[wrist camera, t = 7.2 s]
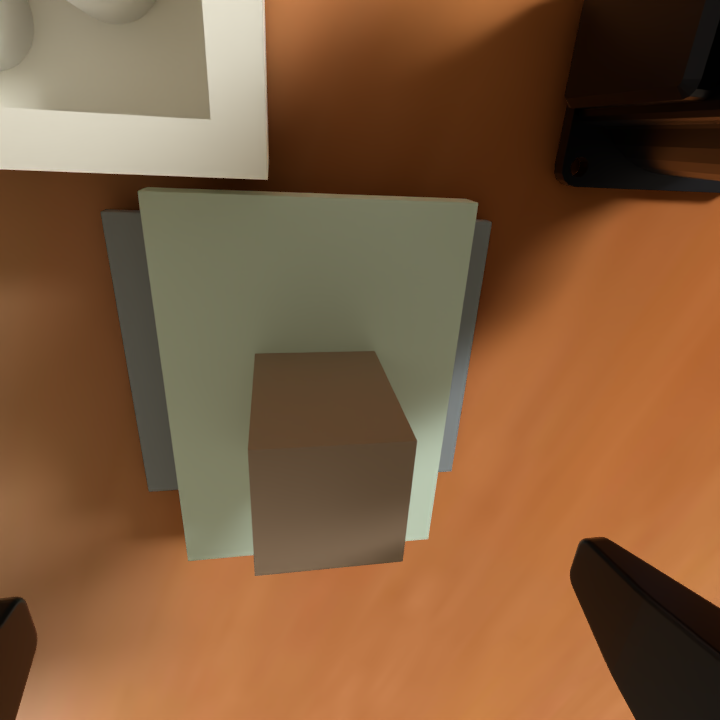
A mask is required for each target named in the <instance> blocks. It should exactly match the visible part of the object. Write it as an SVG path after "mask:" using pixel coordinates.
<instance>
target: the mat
mask: <svg viewBox="0 0 720 720" xmlns="http://www.w3.org/2000/svg"><path fill="white" fill-rule="evenodd" d="M101 218H102V223H103V229H104V235H105V241H106V247H107V252H108V258H109V264H110V270H111V276H112V281H113V287H114V293H115V299H116V305H117V310H118V316H119V322H120V328H121V334H122V339H123V345H124V351H125V357H126V363H127V368H128V374H129V380H130V386H131V392H132V397H133V403H134V409H135V415H136V421H137V426H138V432H139V438H140V444H141V450H142V455H143V461H144V467H145V473H146V479H147V484H148V490H149V492H151V491H166V490H178V483H177V475H176V468H175V461H174V453H173V446H172V439H171V432H170V424H169V417H168V410H167V403H166V395H165V388H164V381H163V373H162V366H161V359H160V352H159V344H158V337H157V330H156V322H155V315H154V308H153V301H152V293H151V286H150V279H149V272H148V264H147V257H146V250H145V242H144V235H143V228H142V221H141V213H140V210H113V209H105V210H103V211H101ZM491 225H492V222H491V221H488V220H478V219H476V222H475V229H474V236H473V242H472V249H471V256H470V262H469V269H468V276H467V282H466V289H465V296H464V302H463V309H462V316H461V322H460V329H459V336H458V342H457V349H456V356H455V362H454V369H453V376H452V382H451V389H450V396H449V402H448V409H447V416H446V422H445V429H444V436H443V442H442V449H441V456H440V462H439V469H438V472H446V471H452V464H453V458H454V452H455V446H456V440H457V434H458V428H459V421H460V415H461V409H462V403H463V397H464V391H465V385H466V379H467V372H468V366H469V360H470V354H471V348H472V342H473V336H474V330H475V323H476V317H477V311H478V305H479V299H480V293H481V287H482V281H483V274H484V268H485V262H486V256H487V250H488V244H489V238H490V232H491Z"/></svg>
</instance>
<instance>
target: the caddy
mask: <svg viewBox="0 0 720 720" xmlns="http://www.w3.org/2000/svg"><path fill="white" fill-rule="evenodd" d="M0 169H6V170H31V171H57V172H82V173H107V174H133V175H158V176H184V177H209V178H234V179H260V180H268V169H269V144H268V107H267V71H266V35H265V0H0Z"/></svg>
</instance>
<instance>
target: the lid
mask: <svg viewBox="0 0 720 720" xmlns="http://www.w3.org/2000/svg"><path fill="white" fill-rule="evenodd" d="M137 192H138V199H139V206H140V213H141V221H142V228H143V235H144V242H145V250H146V257H147V264H148V272H149V279H150V286H151V293H152V301H153V308H154V315H155V322H156V330H157V337H158V344H159V352H160V359H161V366H162V373H163V381H164V388H165V395H166V403H167V410H168V417H169V424H170V432H171V439H172V446H173V453H174V461H175V468H176V475H177V483H178V490H179V497H180V504H181V512H182V519H183V526H184V534H185V541H186V548H187V555H188V561H194V560H205V559H215V558H226V557H237V556H248V555H254V568H255V576H259V575H270V574H280V573H290V572H300V571H310V570H320V569H330V568H340V567H350V566H360V565H370V564H380V563H391V562H401V561H403V554H404V545H405V541H412V540H423V539H428V536H429V529H430V522H431V516H432V509H433V502H434V496H435V489H436V482H437V476H438V469H439V462H440V456H441V449H442V442H443V436H444V429H445V422H446V416H447V409H448V402H449V396H450V389H451V382H452V376H453V369H454V362H455V356H456V349H457V342H458V336H459V329H460V322H461V316H462V309H463V302H464V296H465V289H466V282H467V276H468V269H469V262H470V256H471V249H472V242H473V236H474V229H475V222H476V216H477V209H478V203H477V202H474V201H471V200H468V199H461V198H434V197H406V196H379V195H351V194H324V193H296V192H269V191H241V190H213V189H186V188H158V187H146V188H143V189H141V190H139V191H137Z"/></svg>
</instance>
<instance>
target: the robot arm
mask: <svg viewBox="0 0 720 720" xmlns="http://www.w3.org/2000/svg"><path fill="white" fill-rule="evenodd" d="M565 99H566V102H567V108H566V113H565V118H564V123H563V128H562V132H561V137H560V142H559V147H558V152H557V157H556V161H555V170H554V173H555V176H556V179H557V180H558V181H559V182H560V183H561V184H564V185H568V186H574V187H594V188H618V189H642V190H666V191H690V192H715V193H720V0H584V3H583V8H582V13H581V18H580V23H579V27H578V32H577V37H576V42H575V47H574V52H573V57H572V62H571V67H570V72H569V77H568V82H567V86H566V91H565ZM576 158H578V160H579V161H580V167H579V169H578V171H577V172H576V173H575V174H574V175H572V173H571V165H572V163H573V161H574V160H575V159H576ZM570 580H571V584H572V586H573V589H574V591H575V593H576V596H577V598H578V600H579V603H580V605H581V607H582V609H583V612H584V614H585V616H586V619H587V621H588V623H589V625H590V628H591V630H592V632H593V635H594V637H595V639H596V641H597V644H598V646H599V648H600V651H601V653H602V655H603V657H604V660H605V662H606V664H607V666H608V668H609V670H610V672H611V675H612V676H613V678H614V680H615V682H616V684H617V686H618V688H619V690H620V692H621V694H622V695H623V697H624V699H625V701H626V703H627V705H628V706H629V708H630V710H631V712H632V714H633V716H634V718H635V719H636V720H720V608H719V607H717V606H716V605H714V604H712V603H711V602H709V601H708V600H706V599H704V598H703V597H701V596H700V595H698V594H696V593H695V592H693V591H691V590H690V589H688V588H687V587H685V586H683V585H682V584H680V583H679V582H677V581H675V580H674V579H672V578H671V577H669V576H667V575H666V574H664V573H662V572H661V571H659V570H658V569H656V568H654V567H653V566H651V565H650V564H648V563H646V562H645V561H643V560H642V559H640V558H638V557H637V556H635V555H633V554H632V553H630V552H629V551H627V550H625V549H624V548H622V547H621V546H619V545H617V544H616V543H614V542H612V541H611V540H609V539H607V538H605V537H594V538H585V539H582V540H581V541H580V543H579V545H578V548H577V551H576V554H575V557H574V560H573V563H572V566H571V570H570ZM36 646H37V633H36V629H35V626H34V623H33V621H32V618H31V615H30V612H29V609H28V606H27V603H26V602H25V600H24V599H23V598H21V597H10V598H0V720H15V719H16V716H17V713H18V709H19V706H20V702H21V699H22V696H23V692H24V689H25V685H26V682H27V678H28V675H29V672H30V668H31V665H32V661H33V658H34V654H35V651H36Z"/></svg>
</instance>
